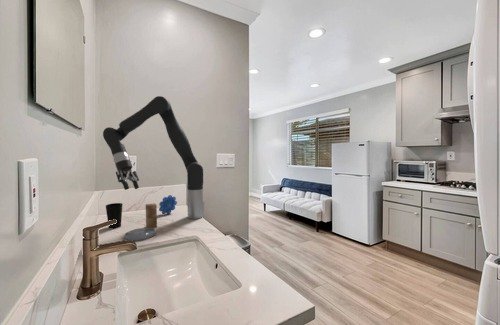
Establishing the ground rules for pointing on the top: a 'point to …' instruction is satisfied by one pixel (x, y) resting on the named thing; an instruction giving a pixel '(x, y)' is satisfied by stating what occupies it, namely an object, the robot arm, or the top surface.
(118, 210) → the cup
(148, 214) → the walnut block
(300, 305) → the top surface
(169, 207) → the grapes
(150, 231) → the slate dish
